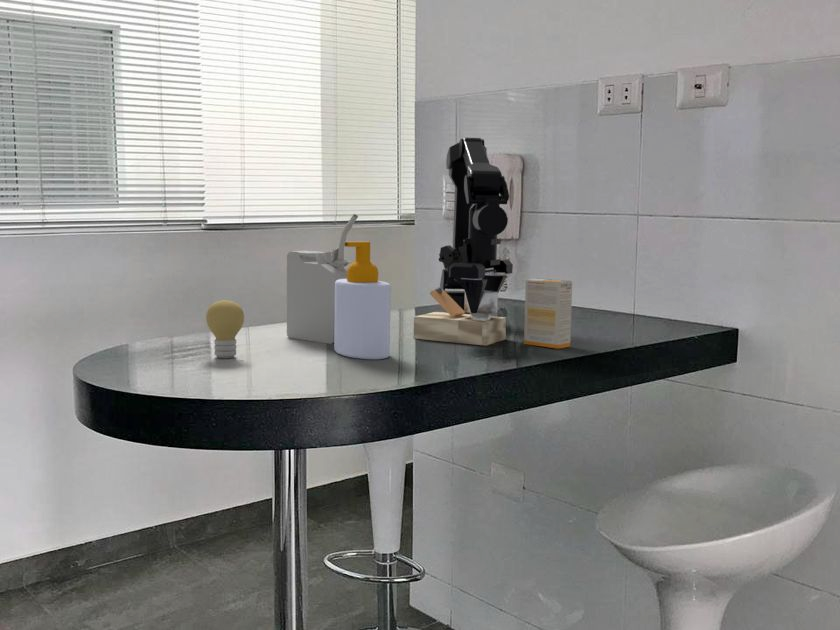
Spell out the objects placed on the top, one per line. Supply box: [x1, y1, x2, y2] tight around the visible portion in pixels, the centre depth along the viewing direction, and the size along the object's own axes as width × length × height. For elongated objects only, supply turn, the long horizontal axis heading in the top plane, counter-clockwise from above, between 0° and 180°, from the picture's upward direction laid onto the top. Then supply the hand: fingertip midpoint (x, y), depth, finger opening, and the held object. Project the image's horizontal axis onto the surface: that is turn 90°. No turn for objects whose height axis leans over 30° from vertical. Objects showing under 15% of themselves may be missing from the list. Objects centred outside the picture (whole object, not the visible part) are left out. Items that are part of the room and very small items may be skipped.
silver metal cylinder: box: [464, 290, 499, 321], centre depth 179 cm, size 7×7×8 cm
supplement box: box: [523, 277, 573, 350], centre depth 174 cm, size 8×5×13 cm, turn 47°
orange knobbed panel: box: [429, 286, 465, 317], centre depth 182 cm, size 7×5×2 cm
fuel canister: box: [286, 213, 359, 345], centre depth 175 cm, size 15×5×25 cm, turn 53°
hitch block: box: [413, 311, 507, 346], centre depth 181 cm, size 10×16×4 cm, turn 63°
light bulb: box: [205, 299, 245, 359], centre depth 154 cm, size 6×6×10 cm
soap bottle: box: [333, 241, 392, 361], centre depth 160 cm, size 13×8×20 cm, turn 37°
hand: (480, 311), depth 179 cm, fingers closed on silver metal cylinder, 7 cm apart
